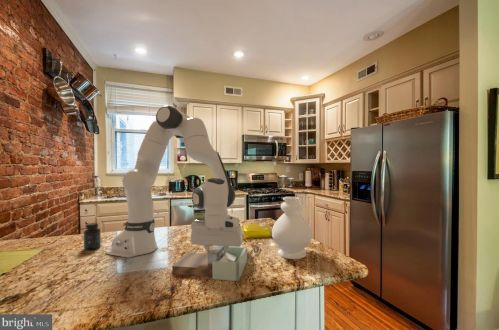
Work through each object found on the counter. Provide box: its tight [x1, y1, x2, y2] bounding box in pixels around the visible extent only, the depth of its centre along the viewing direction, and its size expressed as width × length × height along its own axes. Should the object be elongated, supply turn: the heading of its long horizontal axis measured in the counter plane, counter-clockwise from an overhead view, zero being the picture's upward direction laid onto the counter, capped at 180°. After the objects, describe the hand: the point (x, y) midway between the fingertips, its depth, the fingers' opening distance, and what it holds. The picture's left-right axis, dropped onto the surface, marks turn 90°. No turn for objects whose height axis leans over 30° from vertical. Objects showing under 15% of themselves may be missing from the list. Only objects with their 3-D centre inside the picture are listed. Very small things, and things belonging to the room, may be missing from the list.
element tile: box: [242, 222, 272, 239], centre depth 132 cm, size 15×15×5 cm
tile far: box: [225, 252, 237, 262], centre depth 91 cm, size 5×5×2 cm
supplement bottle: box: [83, 222, 102, 251], centre depth 112 cm, size 7×7×12 cm
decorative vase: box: [271, 196, 313, 260], centre depth 102 cm, size 18×18×25 cm
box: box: [212, 246, 248, 282], centre depth 87 cm, size 10×16×6 cm, turn 170°
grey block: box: [208, 245, 224, 266], centre depth 88 cm, size 4×10×4 cm, turn 171°
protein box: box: [193, 207, 205, 223], centre depth 133 cm, size 10×16×16 cm
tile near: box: [219, 256, 228, 262], centre depth 83 cm, size 5×5×2 cm
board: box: [171, 252, 213, 278], centre depth 89 cm, size 16×13×3 cm
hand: (216, 256), depth 88 cm, fingers open, 4 cm apart
